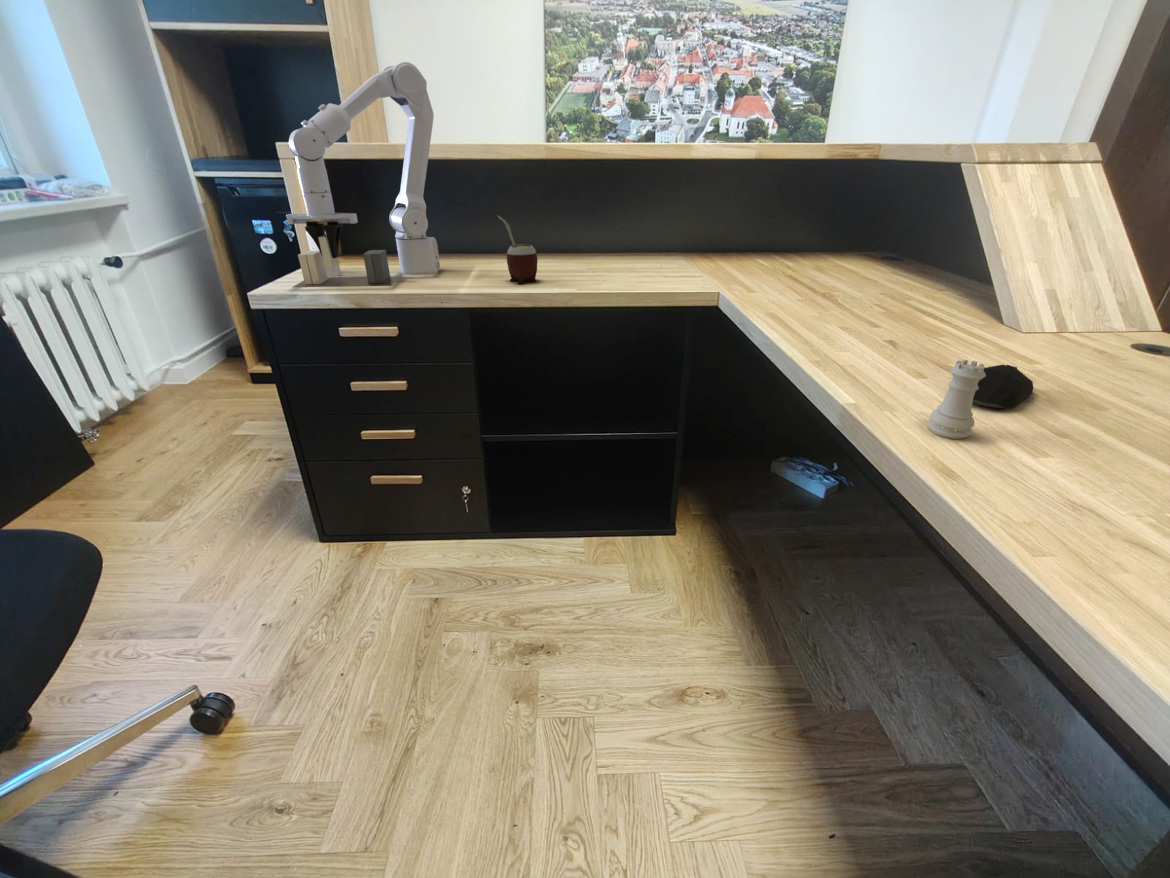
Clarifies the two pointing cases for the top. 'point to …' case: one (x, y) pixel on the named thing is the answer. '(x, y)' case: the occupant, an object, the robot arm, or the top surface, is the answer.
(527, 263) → the mate gourd
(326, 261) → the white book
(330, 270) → the photo printer
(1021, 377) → the gaming mouse
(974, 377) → the rook chess piece
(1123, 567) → the top surface
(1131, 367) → the top surface
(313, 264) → the beige books
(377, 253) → the grey books
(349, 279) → the shelf board
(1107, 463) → the top surface
